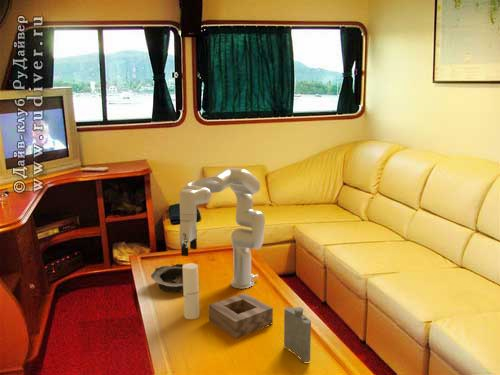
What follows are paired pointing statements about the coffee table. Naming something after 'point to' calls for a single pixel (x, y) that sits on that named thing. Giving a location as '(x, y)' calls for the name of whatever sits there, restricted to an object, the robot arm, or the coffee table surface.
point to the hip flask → (297, 332)
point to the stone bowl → (169, 278)
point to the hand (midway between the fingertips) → (189, 252)
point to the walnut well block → (240, 315)
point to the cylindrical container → (191, 291)
